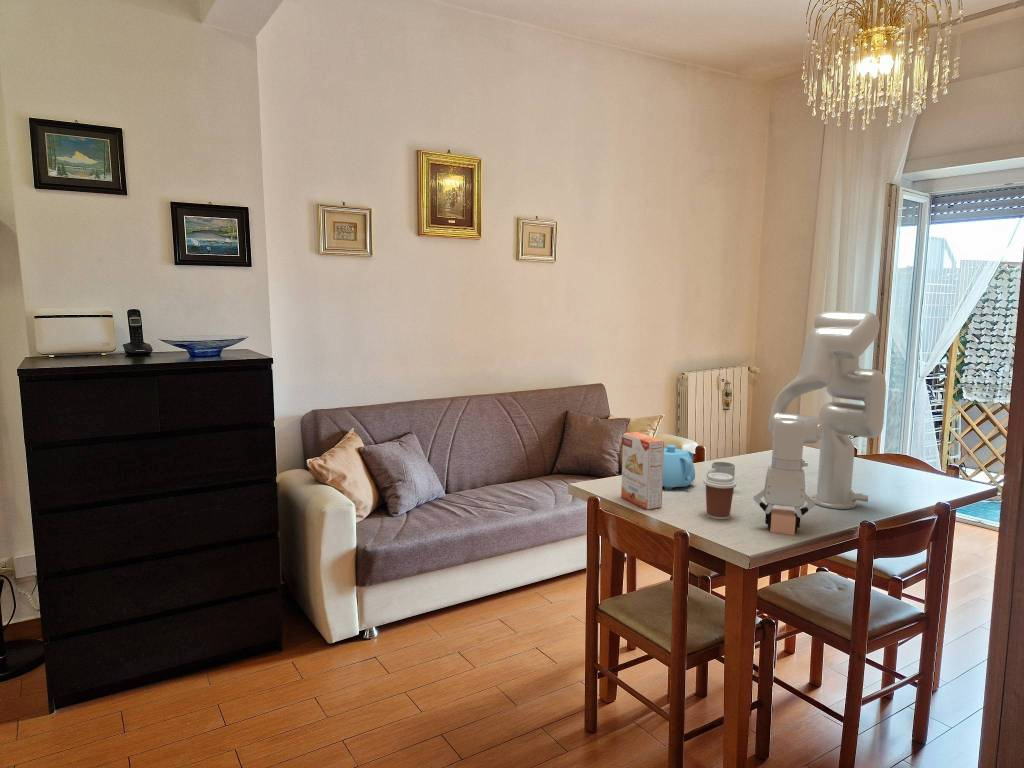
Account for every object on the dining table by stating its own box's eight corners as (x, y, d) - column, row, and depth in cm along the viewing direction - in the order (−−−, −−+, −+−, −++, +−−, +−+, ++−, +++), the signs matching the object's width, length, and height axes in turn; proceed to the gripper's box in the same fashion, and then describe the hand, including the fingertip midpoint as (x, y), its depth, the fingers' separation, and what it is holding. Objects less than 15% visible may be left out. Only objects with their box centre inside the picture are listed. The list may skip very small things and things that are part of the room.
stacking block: (793, 528, 183) (794, 510, 182) (794, 535, 177) (795, 517, 176) (769, 525, 185) (771, 508, 184) (770, 532, 179) (771, 514, 178)
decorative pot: (650, 476, 235) (652, 438, 233) (697, 481, 228) (699, 442, 227) (640, 488, 220) (641, 447, 218) (689, 494, 214) (691, 452, 212)
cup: (738, 492, 216) (739, 466, 214) (713, 496, 212) (715, 468, 210) (723, 486, 222) (724, 461, 221) (699, 489, 218) (700, 463, 217)
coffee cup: (701, 509, 198) (703, 470, 196) (733, 512, 195) (736, 472, 194) (701, 519, 189) (703, 478, 188) (735, 522, 187) (737, 481, 185)
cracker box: (619, 497, 209) (622, 432, 206) (635, 495, 211) (638, 431, 209) (645, 510, 196) (648, 441, 193) (662, 508, 198) (665, 440, 196)
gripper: (820, 463, 179) (815, 528, 181) (752, 457, 185) (748, 520, 187) (823, 470, 172) (817, 537, 174) (752, 464, 178) (748, 528, 180)
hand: (782, 527), depth 181 cm, fingers closed on stacking block, 6 cm apart
